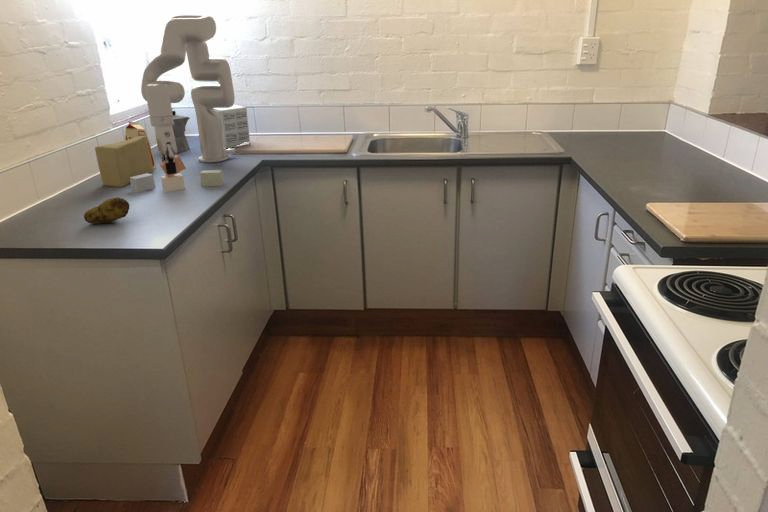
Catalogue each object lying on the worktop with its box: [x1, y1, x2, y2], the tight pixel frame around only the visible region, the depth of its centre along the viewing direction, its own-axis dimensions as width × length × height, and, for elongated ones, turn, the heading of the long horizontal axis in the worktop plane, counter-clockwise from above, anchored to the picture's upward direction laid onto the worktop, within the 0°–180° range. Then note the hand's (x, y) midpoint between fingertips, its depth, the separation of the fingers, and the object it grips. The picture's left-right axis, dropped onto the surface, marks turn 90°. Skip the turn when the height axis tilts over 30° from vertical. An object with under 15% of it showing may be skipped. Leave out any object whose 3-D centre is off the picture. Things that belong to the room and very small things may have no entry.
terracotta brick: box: [159, 153, 187, 178], centre depth 205 cm, size 7×4×5 cm, turn 121°
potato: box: [83, 196, 130, 225], centre depth 173 cm, size 8×13×8 cm, turn 78°
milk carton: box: [124, 120, 157, 170], centre depth 231 cm, size 9×9×20 cm
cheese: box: [94, 136, 154, 188], centre depth 218 cm, size 22×10×15 cm, turn 160°
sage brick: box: [199, 169, 224, 187], centre depth 212 cm, size 7×4×5 cm, turn 92°
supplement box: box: [213, 104, 251, 149], centre depth 275 cm, size 17×13×18 cm
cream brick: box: [160, 172, 186, 193], centre depth 207 cm, size 7×4×5 cm, turn 123°
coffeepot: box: [172, 110, 191, 153], centre depth 263 cm, size 15×9×18 cm, turn 103°
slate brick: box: [130, 173, 156, 193], centre depth 207 cm, size 7×4×5 cm, turn 142°
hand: (170, 171), depth 205 cm, fingers open, 4 cm apart
